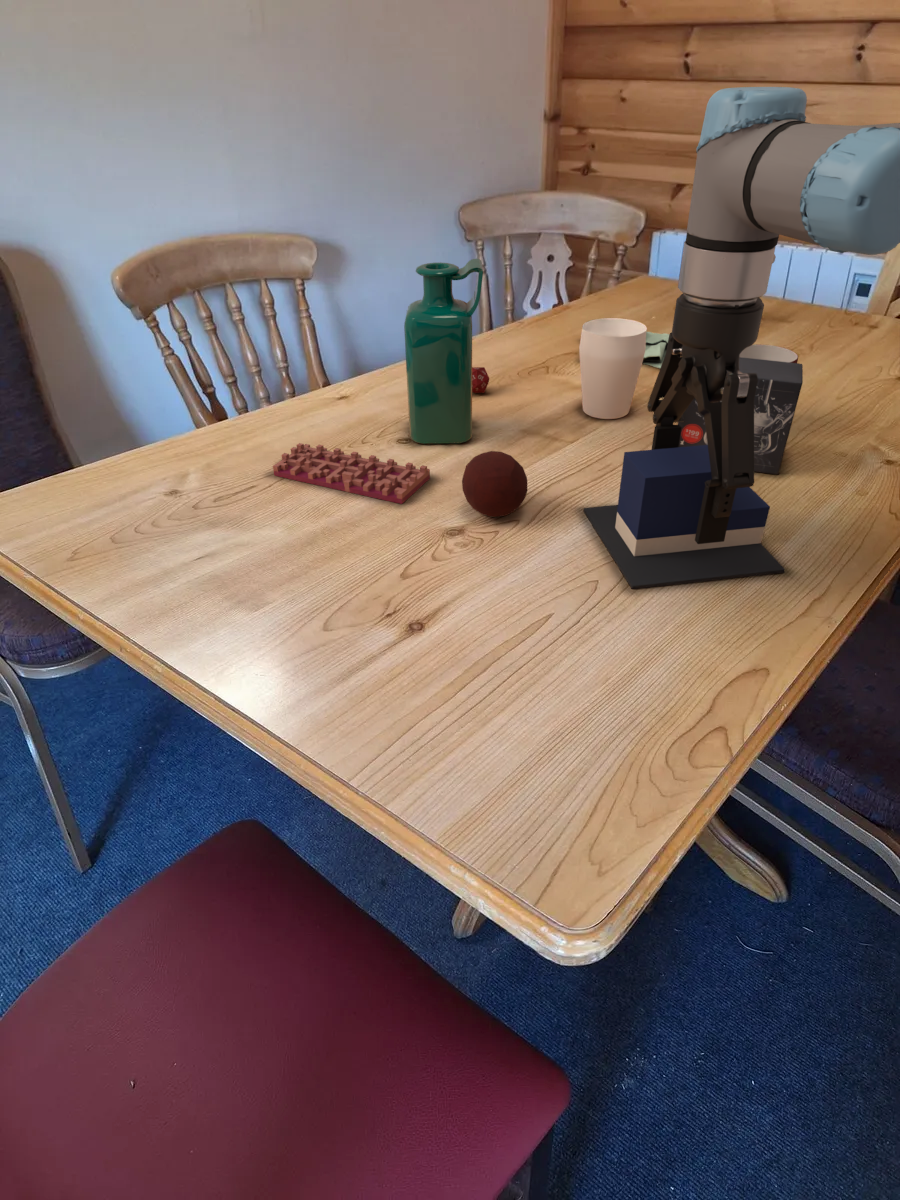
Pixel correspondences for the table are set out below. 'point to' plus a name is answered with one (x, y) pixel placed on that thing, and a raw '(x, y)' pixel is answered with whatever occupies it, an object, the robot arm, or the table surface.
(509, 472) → the dark red ball
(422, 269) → the pitcher
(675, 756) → the table surface
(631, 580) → the mat
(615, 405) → the cup
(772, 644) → the table surface
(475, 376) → the dice
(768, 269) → the robot arm
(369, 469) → the chocolate bar
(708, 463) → the navy block
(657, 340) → the cloth
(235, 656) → the table surface
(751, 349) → the mug
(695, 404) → the small box
